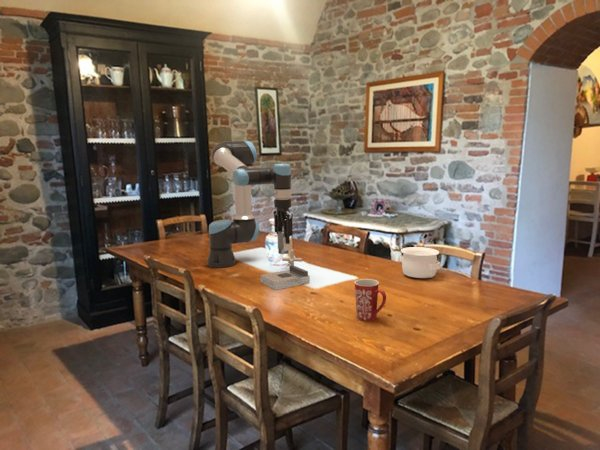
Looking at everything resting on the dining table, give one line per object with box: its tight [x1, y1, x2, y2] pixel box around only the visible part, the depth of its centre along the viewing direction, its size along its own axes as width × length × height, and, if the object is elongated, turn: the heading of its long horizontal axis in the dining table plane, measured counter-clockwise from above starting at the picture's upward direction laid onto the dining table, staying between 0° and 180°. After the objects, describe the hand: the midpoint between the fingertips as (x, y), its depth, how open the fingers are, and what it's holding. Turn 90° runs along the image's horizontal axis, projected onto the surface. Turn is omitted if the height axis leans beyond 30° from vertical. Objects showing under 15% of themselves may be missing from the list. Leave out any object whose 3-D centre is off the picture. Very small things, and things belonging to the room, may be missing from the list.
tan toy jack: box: [281, 249, 303, 267], centre depth 239 cm, size 10×10×10 cm
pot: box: [398, 246, 441, 279], centre depth 224 cm, size 22×17×12 cm
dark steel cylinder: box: [277, 229, 290, 255], centre depth 213 cm, size 5×5×10 cm
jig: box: [259, 265, 311, 291], centre depth 216 cm, size 14×18×6 cm
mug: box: [353, 278, 387, 322], centre depth 171 cm, size 13×9×14 cm
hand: (283, 249), depth 214 cm, fingers closed on dark steel cylinder, 5 cm apart
